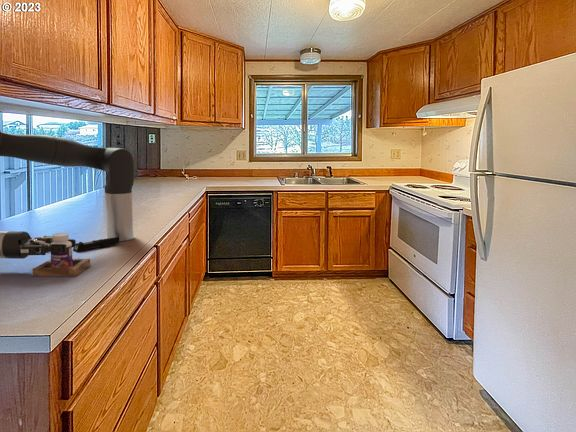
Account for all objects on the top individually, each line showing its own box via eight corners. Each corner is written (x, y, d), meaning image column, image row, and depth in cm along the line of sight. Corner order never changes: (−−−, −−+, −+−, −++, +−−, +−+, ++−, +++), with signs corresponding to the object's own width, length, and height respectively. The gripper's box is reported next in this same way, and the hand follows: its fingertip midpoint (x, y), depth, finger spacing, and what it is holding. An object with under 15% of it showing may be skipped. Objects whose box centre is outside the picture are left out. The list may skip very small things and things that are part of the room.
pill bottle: (48, 271, 125) (46, 236, 124) (54, 266, 130) (52, 232, 129) (70, 271, 126) (68, 236, 125) (75, 265, 131) (73, 232, 130)
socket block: (51, 265, 134) (51, 258, 133) (90, 265, 134) (90, 258, 134) (32, 276, 123) (32, 269, 122) (74, 276, 123) (74, 269, 123)
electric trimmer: (121, 246, 160) (121, 237, 160) (77, 253, 149) (77, 243, 148) (116, 244, 163) (116, 235, 162) (72, 251, 151) (71, 241, 151)
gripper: (-9, 237, 119) (58, 238, 120) (21, 226, 133) (80, 227, 134) (-7, 265, 120) (60, 266, 121) (22, 251, 134) (81, 252, 135)
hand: (70, 245), depth 127 cm, fingers closed on pill bottle, 5 cm apart
